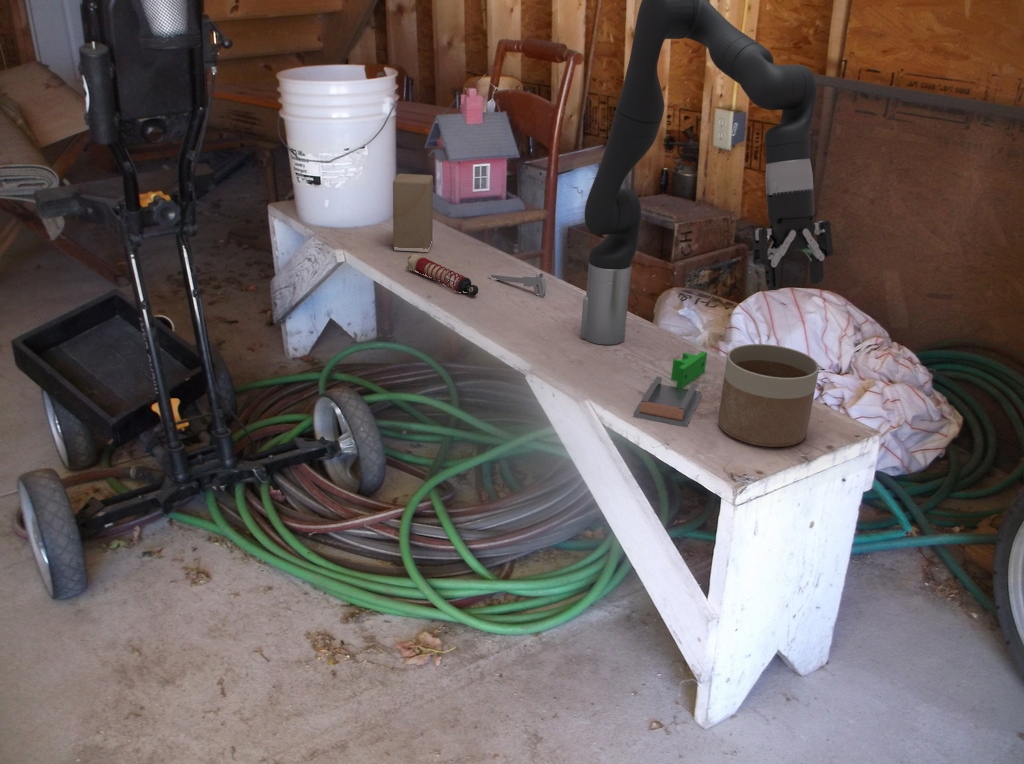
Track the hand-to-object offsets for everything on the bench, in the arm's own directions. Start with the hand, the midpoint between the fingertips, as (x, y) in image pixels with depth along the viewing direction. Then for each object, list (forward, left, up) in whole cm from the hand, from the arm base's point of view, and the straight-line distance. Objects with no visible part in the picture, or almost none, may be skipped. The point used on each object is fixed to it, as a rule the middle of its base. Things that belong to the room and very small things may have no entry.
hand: (795, 286), depth 160 cm
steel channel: (-19, +4, -28) cm, 34 cm away
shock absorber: (-89, +52, -28) cm, 107 cm away
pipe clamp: (-19, +19, -28) cm, 39 cm away
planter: (-2, +1, -28) cm, 28 cm away
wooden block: (-109, +77, -28) cm, 137 cm away
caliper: (-71, +57, -28) cm, 95 cm away
